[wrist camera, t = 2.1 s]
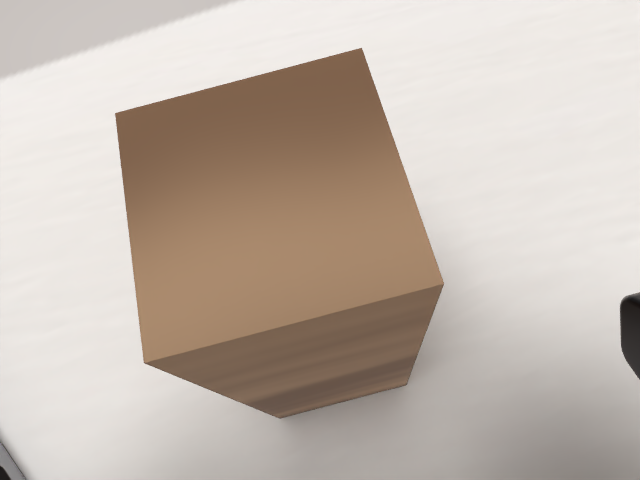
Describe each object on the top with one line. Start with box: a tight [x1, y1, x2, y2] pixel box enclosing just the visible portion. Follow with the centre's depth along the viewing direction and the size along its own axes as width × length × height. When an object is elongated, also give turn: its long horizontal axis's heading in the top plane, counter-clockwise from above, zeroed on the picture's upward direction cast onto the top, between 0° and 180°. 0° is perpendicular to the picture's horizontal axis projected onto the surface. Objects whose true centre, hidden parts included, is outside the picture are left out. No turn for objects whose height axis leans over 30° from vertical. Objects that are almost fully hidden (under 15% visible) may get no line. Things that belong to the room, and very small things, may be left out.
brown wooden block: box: [115, 48, 444, 418], centre depth 13 cm, size 4×4×11 cm
